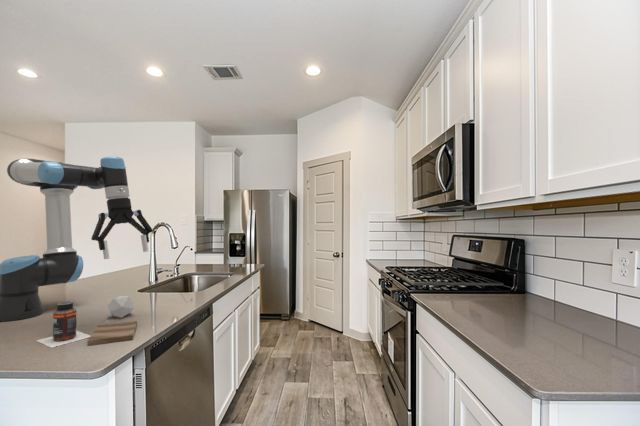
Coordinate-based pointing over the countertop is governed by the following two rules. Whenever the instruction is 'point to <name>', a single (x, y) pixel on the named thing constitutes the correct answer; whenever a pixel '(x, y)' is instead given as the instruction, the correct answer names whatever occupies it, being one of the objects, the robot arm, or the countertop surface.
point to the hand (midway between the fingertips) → (127, 255)
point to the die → (120, 306)
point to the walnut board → (113, 333)
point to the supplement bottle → (64, 322)
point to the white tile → (53, 343)
